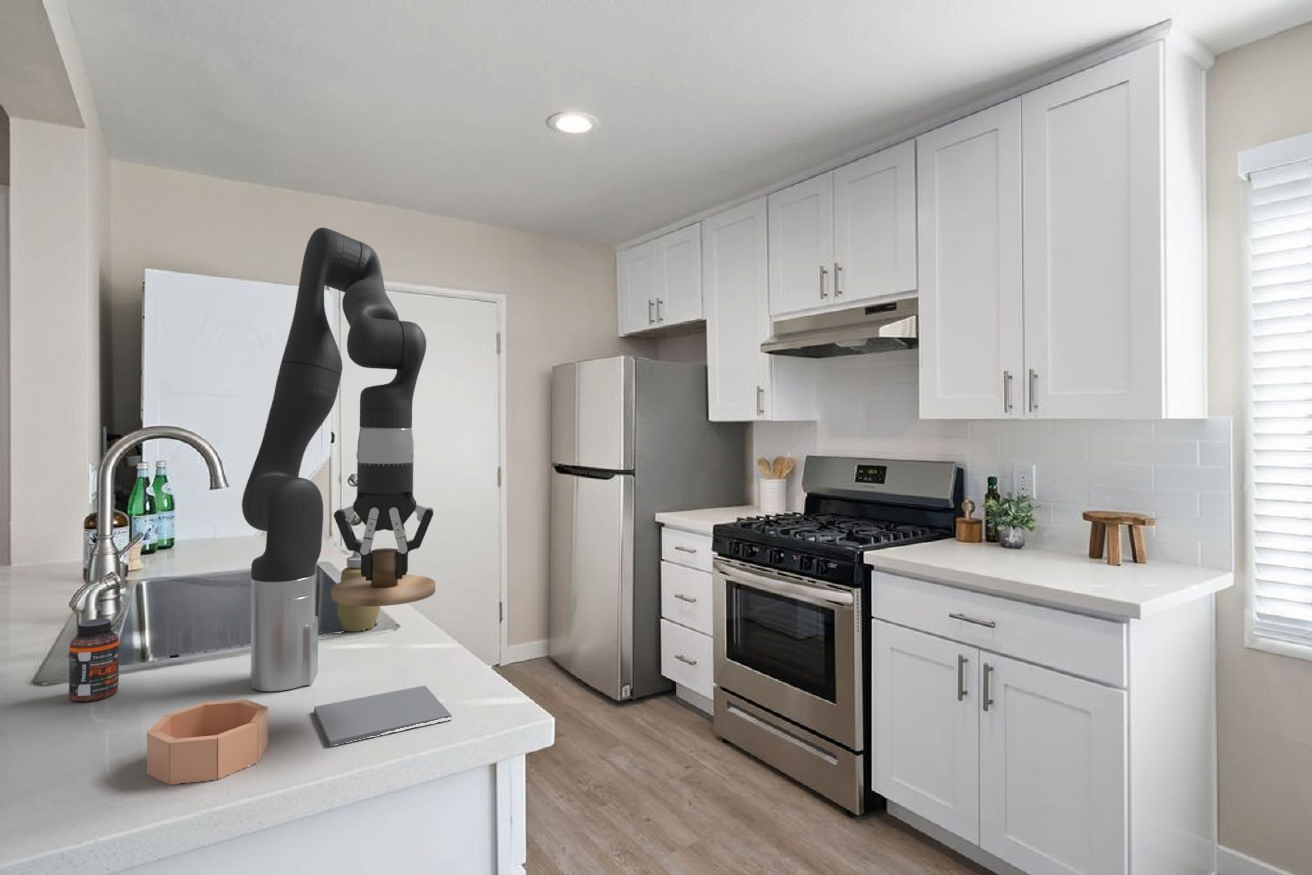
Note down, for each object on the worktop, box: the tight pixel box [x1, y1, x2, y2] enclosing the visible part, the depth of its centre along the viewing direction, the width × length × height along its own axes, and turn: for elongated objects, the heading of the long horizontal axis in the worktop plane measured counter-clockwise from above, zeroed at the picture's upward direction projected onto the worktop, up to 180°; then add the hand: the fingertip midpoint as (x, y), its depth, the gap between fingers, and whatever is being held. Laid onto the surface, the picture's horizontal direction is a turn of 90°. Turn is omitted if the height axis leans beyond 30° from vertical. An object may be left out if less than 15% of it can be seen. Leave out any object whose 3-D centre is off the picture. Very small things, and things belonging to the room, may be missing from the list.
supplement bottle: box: [68, 618, 120, 703], centre depth 109 cm, size 6×6×11 cm
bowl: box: [146, 698, 269, 786], centre depth 90 cm, size 12×12×5 cm
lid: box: [330, 547, 436, 607], centre depth 103 cm, size 14×14×6 cm
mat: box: [313, 685, 452, 747], centre depth 104 cm, size 16×13×1 cm
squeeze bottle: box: [336, 538, 381, 632], centre depth 145 cm, size 8×8×18 cm
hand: (384, 578), depth 103 cm, fingers closed on lid, 3 cm apart
